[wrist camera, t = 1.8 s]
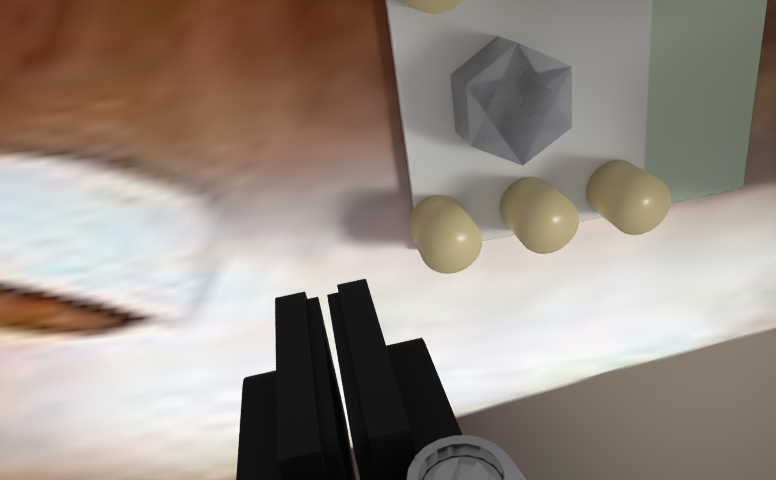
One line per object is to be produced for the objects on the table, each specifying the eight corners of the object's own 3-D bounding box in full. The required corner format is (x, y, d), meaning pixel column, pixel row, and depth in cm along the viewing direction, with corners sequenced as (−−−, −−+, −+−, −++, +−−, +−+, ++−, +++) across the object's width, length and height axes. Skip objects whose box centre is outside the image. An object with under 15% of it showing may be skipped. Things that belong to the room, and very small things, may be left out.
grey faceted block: (547, 27, 26) (571, 33, 23) (549, 141, 28) (572, 156, 26) (447, 44, 25) (463, 52, 23) (458, 158, 27) (473, 175, 25)
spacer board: (774, -127, 25) (836, -138, 22) (736, 184, 31) (781, 206, 28) (366, -63, 23) (378, -66, 21) (410, 251, 30) (424, 280, 27)
